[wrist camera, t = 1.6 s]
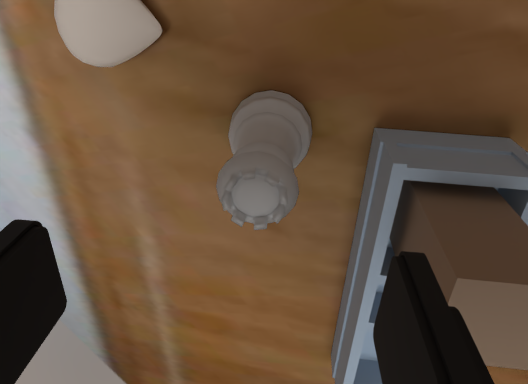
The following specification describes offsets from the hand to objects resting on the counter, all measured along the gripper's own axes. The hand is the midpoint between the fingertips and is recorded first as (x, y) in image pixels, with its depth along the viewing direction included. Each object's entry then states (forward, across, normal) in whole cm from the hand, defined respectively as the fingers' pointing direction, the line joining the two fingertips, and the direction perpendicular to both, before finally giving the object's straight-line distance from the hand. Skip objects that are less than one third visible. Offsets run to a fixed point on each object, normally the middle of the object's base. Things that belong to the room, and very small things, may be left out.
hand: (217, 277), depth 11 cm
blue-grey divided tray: (+12, -10, +9) cm, 18 cm away
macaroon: (+13, +7, -5) cm, 16 cm away
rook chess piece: (+13, -1, 0) cm, 13 cm away
